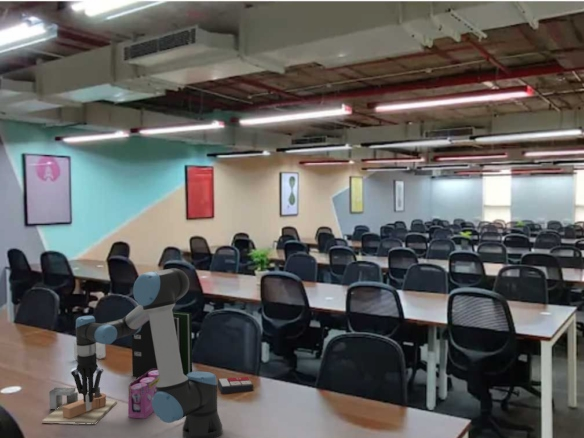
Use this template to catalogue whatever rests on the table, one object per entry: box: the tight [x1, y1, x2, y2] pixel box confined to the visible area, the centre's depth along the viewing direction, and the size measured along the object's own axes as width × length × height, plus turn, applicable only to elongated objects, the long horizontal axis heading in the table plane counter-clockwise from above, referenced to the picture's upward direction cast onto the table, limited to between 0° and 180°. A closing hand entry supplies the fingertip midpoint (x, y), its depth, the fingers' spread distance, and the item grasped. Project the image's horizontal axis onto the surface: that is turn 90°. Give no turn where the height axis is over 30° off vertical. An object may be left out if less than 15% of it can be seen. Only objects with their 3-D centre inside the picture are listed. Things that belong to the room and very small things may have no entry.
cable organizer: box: [73, 340, 106, 361], centre depth 295 cm, size 15×11×12 cm
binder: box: [131, 310, 193, 378], centre depth 266 cm, size 27×15×32 cm, turn 67°
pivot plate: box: [41, 386, 118, 425], centre depth 220 cm, size 22×22×9 cm
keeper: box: [48, 387, 79, 410], centre depth 227 cm, size 7×9×8 cm
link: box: [63, 392, 107, 419], centre depth 220 cm, size 18×7×4 cm, turn 147°
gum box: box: [127, 368, 160, 419], centre depth 225 cm, size 24×8×14 cm, turn 169°
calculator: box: [217, 376, 254, 395], centre depth 248 cm, size 11×4×15 cm
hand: (88, 409), depth 217 cm, fingers closed
